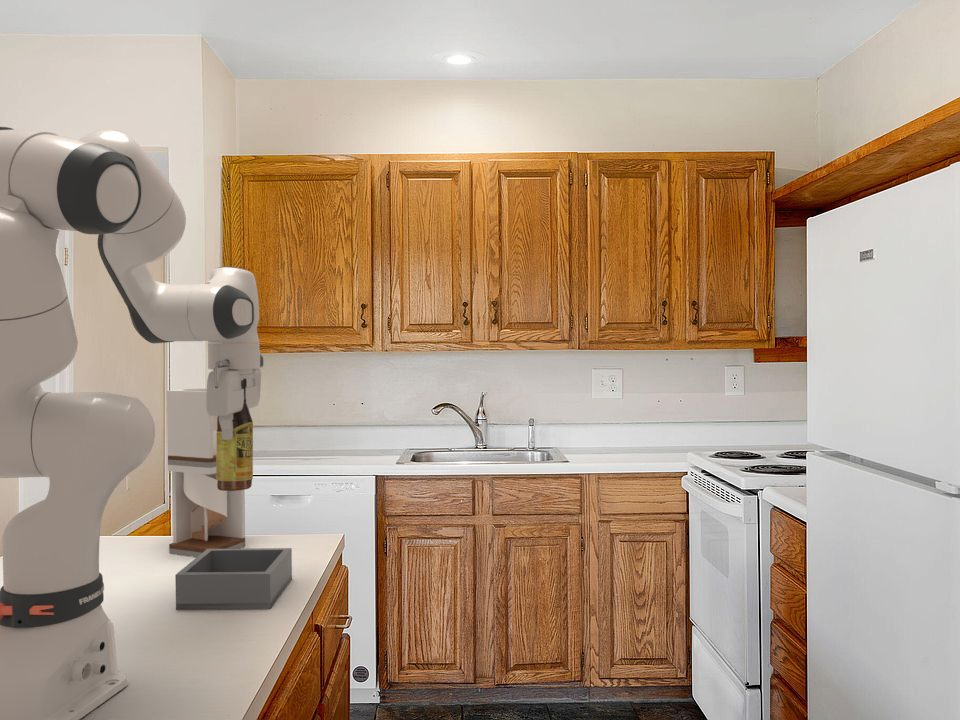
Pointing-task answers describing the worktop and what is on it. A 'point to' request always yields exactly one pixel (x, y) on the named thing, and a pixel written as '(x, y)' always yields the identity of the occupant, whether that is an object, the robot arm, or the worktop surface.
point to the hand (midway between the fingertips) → (234, 436)
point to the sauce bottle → (236, 452)
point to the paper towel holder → (199, 480)
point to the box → (234, 579)
